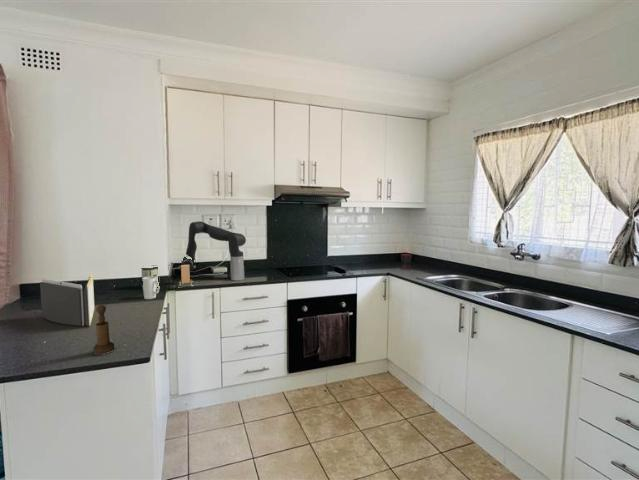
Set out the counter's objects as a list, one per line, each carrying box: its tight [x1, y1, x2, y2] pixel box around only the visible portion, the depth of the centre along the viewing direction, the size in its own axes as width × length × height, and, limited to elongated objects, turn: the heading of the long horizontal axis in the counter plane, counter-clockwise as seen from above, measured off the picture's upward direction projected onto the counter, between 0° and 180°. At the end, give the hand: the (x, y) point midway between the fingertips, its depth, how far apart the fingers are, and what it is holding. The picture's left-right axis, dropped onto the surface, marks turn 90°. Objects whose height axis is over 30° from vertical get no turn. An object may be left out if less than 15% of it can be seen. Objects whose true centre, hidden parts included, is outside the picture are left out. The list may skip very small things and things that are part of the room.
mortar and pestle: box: [92, 304, 115, 354], centre depth 127 cm, size 7×6×18 cm
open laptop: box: [39, 273, 95, 327], centre depth 165 cm, size 35×22×20 cm, turn 68°
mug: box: [141, 277, 161, 300], centre depth 198 cm, size 10×7×12 cm, turn 77°
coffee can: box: [140, 267, 158, 290], centre depth 220 cm, size 10×10×14 cm
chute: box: [178, 279, 195, 287], centre depth 229 cm, size 10×12×2 cm
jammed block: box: [180, 264, 191, 284], centre depth 232 cm, size 5×4×12 cm
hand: (186, 269), depth 243 cm, fingers closed
